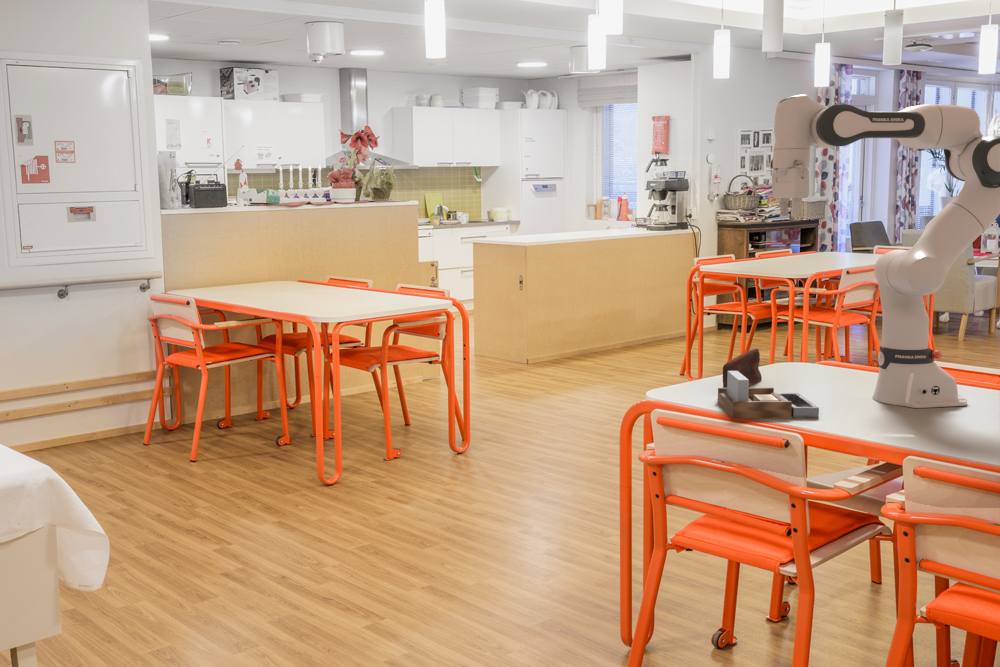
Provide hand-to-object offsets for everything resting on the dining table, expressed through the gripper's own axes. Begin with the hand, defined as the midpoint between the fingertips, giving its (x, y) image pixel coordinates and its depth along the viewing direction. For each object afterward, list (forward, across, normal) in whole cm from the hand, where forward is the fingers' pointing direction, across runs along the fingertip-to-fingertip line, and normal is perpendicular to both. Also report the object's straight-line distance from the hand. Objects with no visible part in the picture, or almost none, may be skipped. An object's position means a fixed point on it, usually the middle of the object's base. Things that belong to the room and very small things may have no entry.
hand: (789, 216), depth 239 cm
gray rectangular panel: (+48, -12, +15) cm, 51 cm away
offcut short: (+46, -12, +8) cm, 48 cm away
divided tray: (+48, -12, +12) cm, 51 cm away
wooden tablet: (+48, +14, +7) cm, 50 cm away
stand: (+48, -12, 0) cm, 49 cm away
